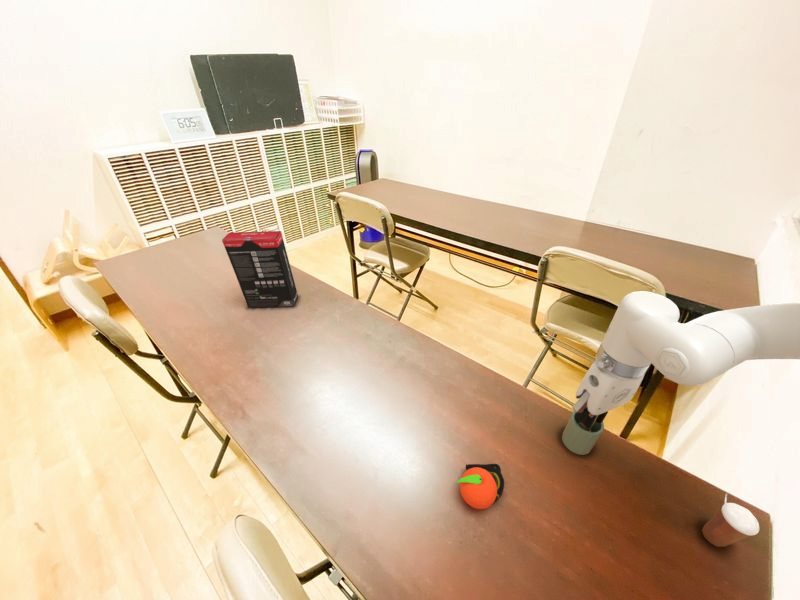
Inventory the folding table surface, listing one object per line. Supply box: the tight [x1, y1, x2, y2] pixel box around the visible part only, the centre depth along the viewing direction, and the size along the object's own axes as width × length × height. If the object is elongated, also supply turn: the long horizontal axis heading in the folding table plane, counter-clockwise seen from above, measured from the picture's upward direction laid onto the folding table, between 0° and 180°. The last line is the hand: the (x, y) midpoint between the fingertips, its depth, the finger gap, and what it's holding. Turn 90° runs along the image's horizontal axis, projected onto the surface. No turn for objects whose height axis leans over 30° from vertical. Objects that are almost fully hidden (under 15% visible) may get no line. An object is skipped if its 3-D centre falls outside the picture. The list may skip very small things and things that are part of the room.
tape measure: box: [465, 463, 505, 503], centre depth 64 cm, size 7×7×4 cm
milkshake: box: [701, 493, 760, 548], centre depth 54 cm, size 5×5×10 cm
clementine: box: [454, 467, 497, 510], centre depth 61 cm, size 8×7×7 cm
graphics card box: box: [221, 230, 299, 309], centre depth 109 cm, size 17×7×27 cm, turn 92°
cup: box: [561, 410, 605, 456], centre depth 69 cm, size 6×6×8 cm
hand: (588, 419), depth 66 cm, fingers closed
